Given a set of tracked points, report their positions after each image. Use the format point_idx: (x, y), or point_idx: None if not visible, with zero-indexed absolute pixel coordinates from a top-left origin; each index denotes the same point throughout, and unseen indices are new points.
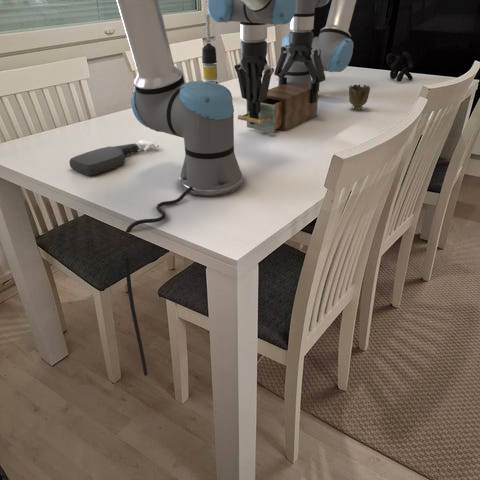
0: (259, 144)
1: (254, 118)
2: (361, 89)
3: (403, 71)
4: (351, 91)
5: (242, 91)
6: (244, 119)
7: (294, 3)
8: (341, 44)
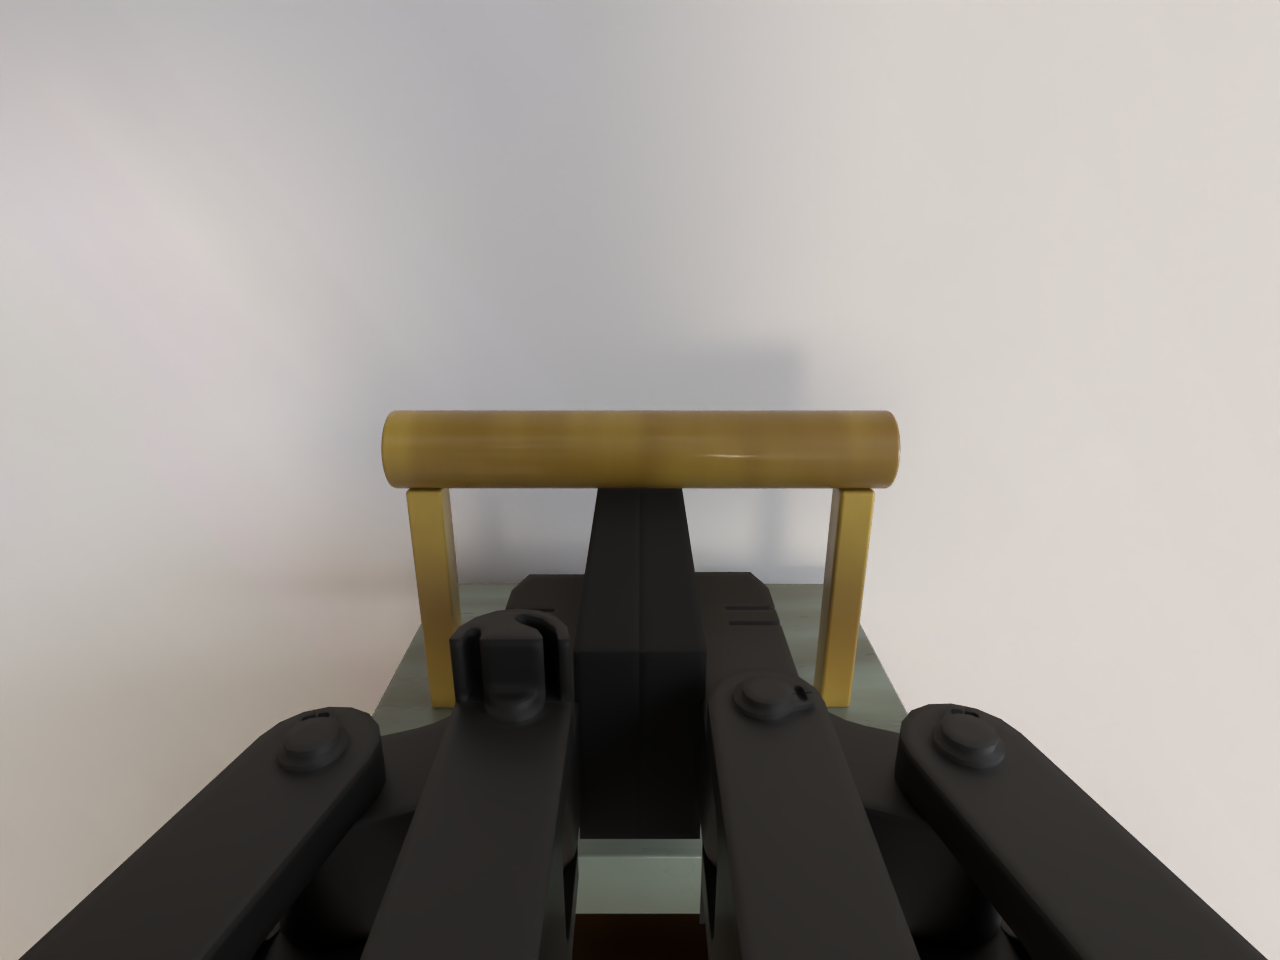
0: (370, 228)
1: (525, 454)
2: None
3: None
4: None
5: (1091, 880)
6: (734, 412)
7: None
8: None
